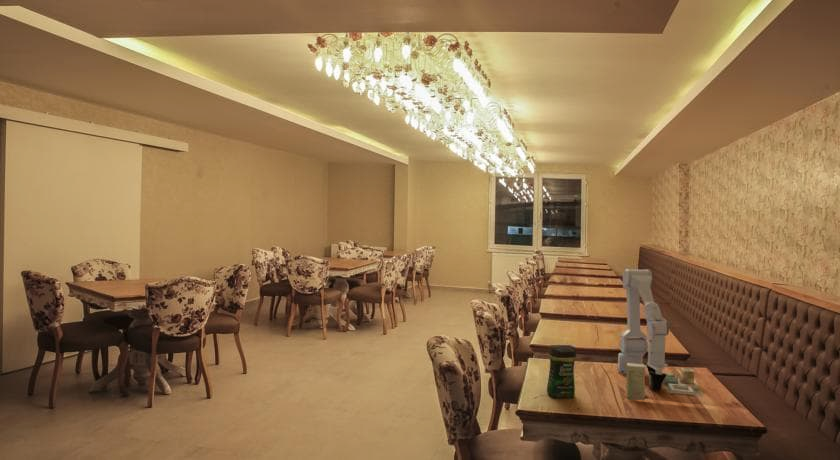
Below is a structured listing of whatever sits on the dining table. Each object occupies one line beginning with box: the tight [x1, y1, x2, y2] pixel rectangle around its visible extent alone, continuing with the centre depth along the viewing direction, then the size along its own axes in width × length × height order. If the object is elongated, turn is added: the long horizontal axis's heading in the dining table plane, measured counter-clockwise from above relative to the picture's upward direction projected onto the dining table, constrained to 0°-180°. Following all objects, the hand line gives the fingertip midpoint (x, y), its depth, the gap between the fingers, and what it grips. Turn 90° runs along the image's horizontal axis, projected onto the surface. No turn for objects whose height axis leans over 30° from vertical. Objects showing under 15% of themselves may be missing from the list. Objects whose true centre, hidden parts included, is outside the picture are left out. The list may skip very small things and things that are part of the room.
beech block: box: [679, 367, 695, 385], centre depth 210 cm, size 4×4×6 cm
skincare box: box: [625, 363, 646, 401], centre depth 198 cm, size 6×4×12 cm
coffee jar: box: [546, 344, 577, 399], centre depth 199 cm, size 10×8×19 cm
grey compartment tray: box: [663, 378, 704, 397], centre depth 207 cm, size 12×15×2 cm
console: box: [662, 372, 679, 386], centre depth 212 cm, size 5×5×3 cm
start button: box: [666, 373, 674, 377], centre depth 212 cm, size 3×3×3 cm
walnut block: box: [648, 373, 663, 392], centre depth 205 cm, size 4×4×6 cm
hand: (655, 387), depth 205 cm, fingers open, 7 cm apart
